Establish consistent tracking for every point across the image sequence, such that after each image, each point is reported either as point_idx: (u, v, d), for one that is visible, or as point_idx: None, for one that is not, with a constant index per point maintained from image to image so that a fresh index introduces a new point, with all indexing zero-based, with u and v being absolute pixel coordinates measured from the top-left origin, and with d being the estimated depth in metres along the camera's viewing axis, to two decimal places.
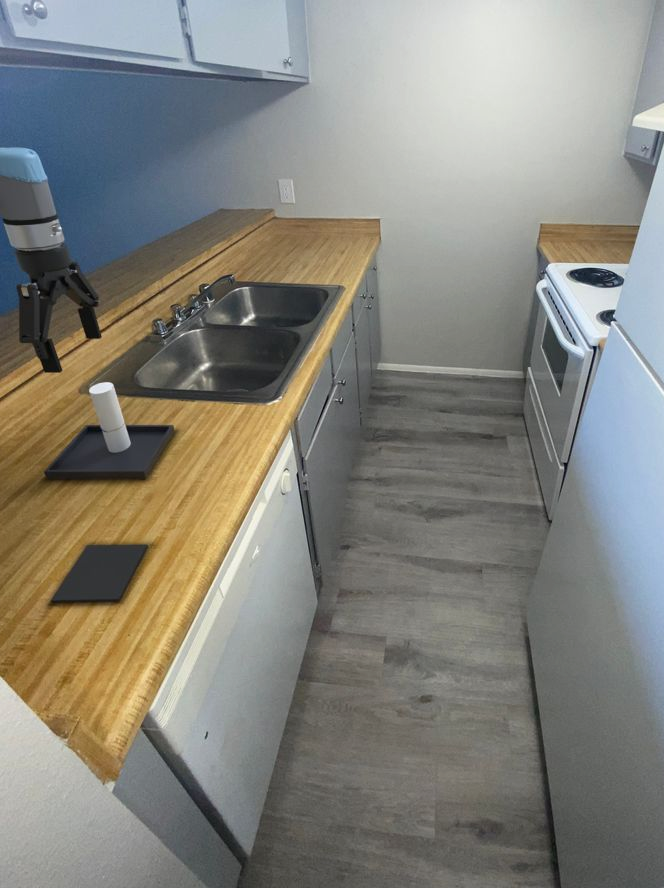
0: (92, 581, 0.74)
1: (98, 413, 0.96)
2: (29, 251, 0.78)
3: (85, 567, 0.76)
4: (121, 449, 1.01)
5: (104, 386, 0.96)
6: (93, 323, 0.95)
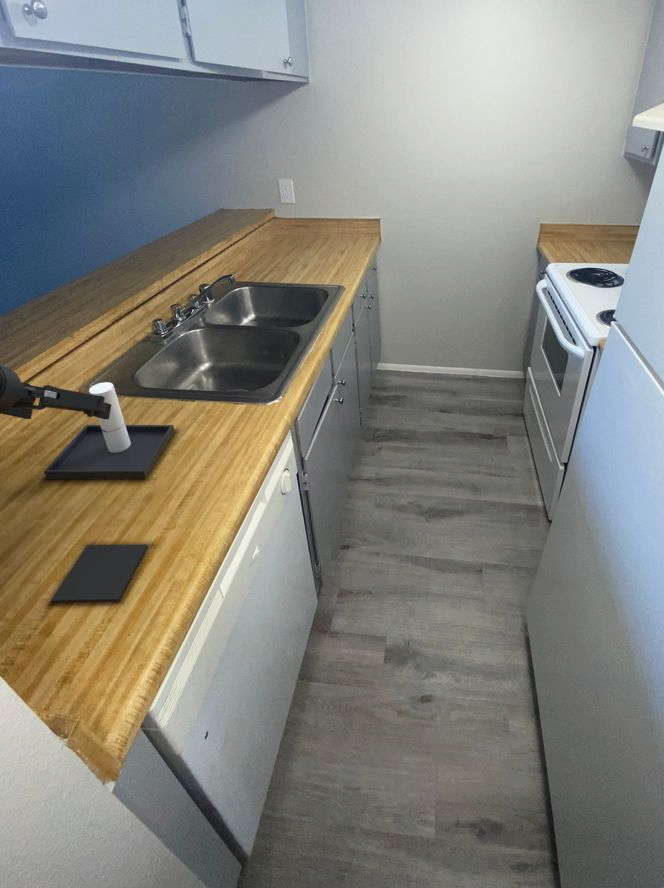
0: (92, 581, 0.74)
1: None
2: None
3: (85, 567, 0.76)
4: (121, 449, 1.01)
5: (104, 386, 0.96)
6: None
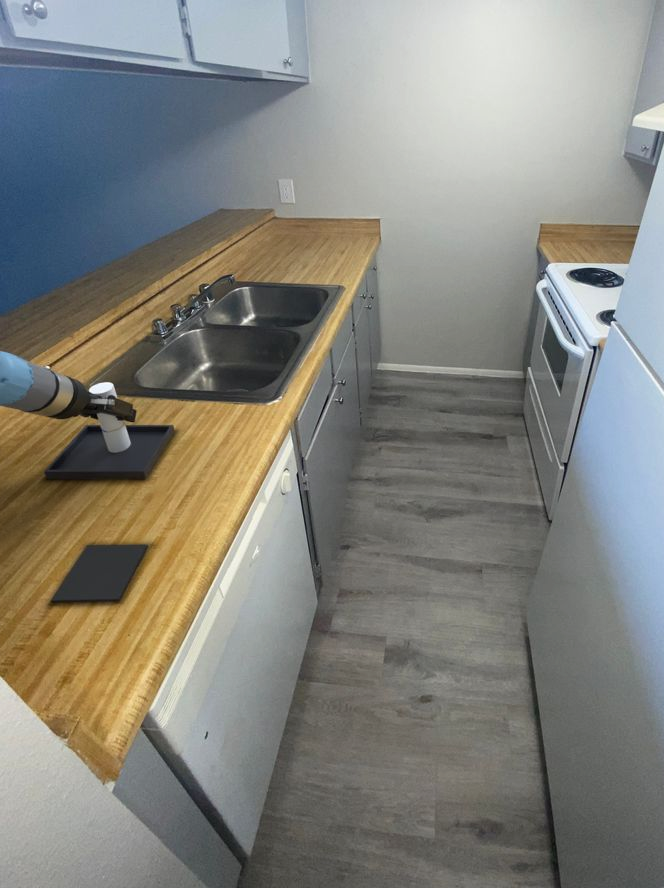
0: (92, 581, 0.74)
1: (98, 413, 0.96)
2: (72, 393, 0.82)
3: (85, 567, 0.76)
4: (121, 449, 1.01)
5: (104, 386, 0.96)
6: None
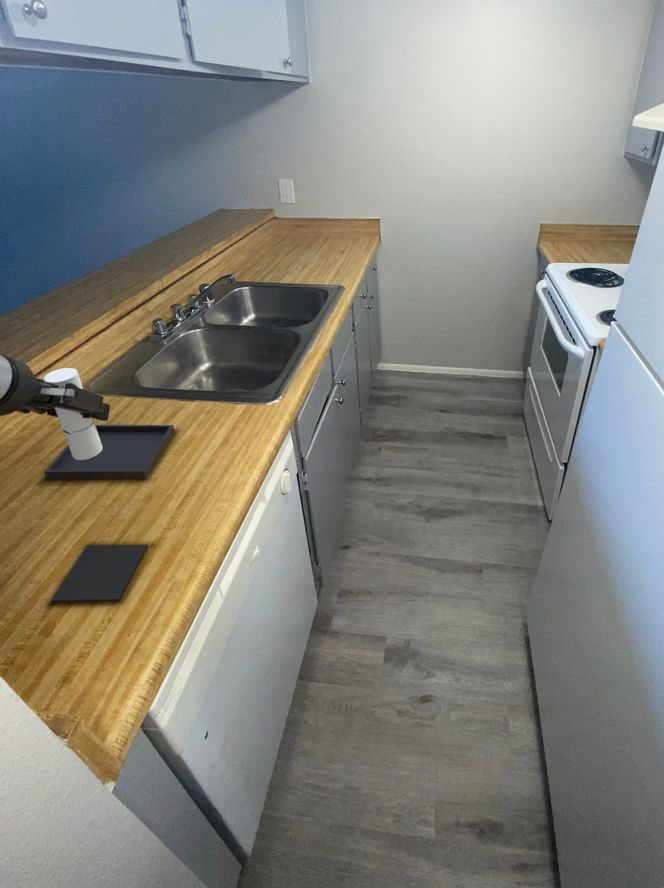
0: (92, 581, 0.74)
1: (57, 408, 0.73)
2: (11, 379, 0.58)
3: (85, 567, 0.76)
4: (89, 456, 0.78)
5: (65, 373, 0.73)
6: None
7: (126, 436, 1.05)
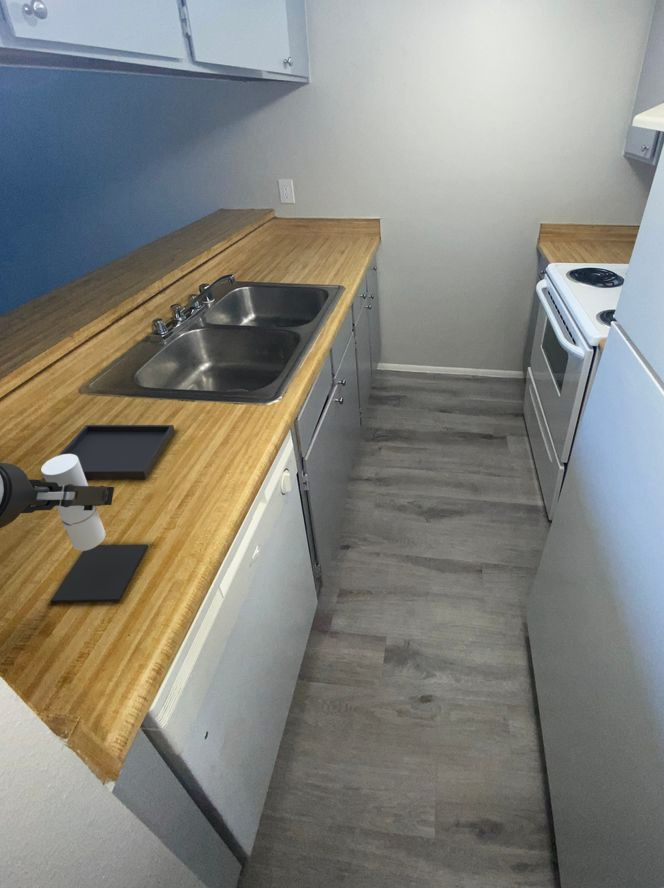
0: (92, 581, 0.74)
1: None
2: (3, 493, 0.51)
3: (85, 567, 0.76)
4: (91, 546, 0.71)
5: (64, 461, 0.66)
6: None
7: (126, 436, 1.05)
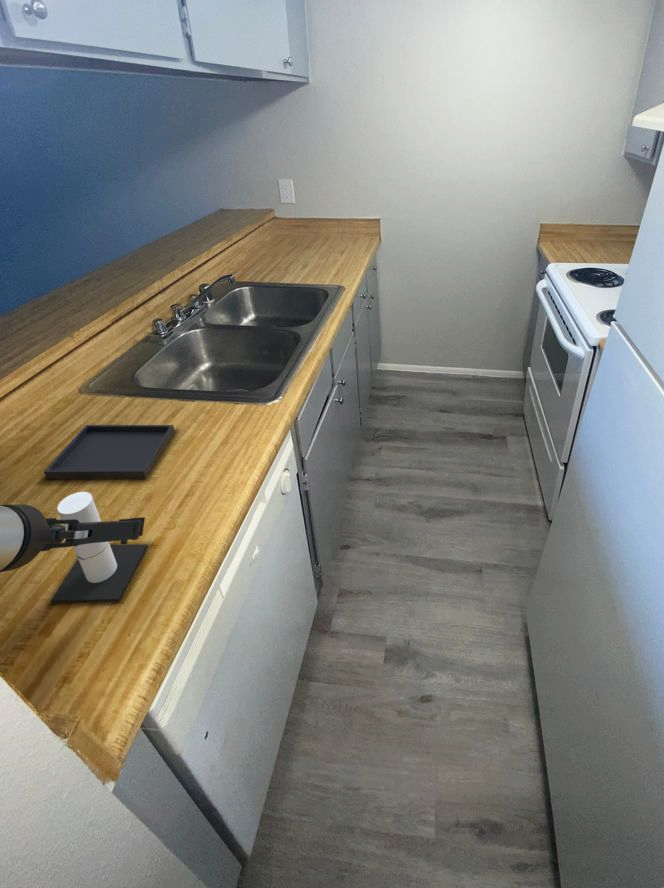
0: None
1: None
2: (23, 536, 0.54)
3: None
4: (104, 578, 0.74)
5: (79, 499, 0.69)
6: None
7: (126, 436, 1.05)
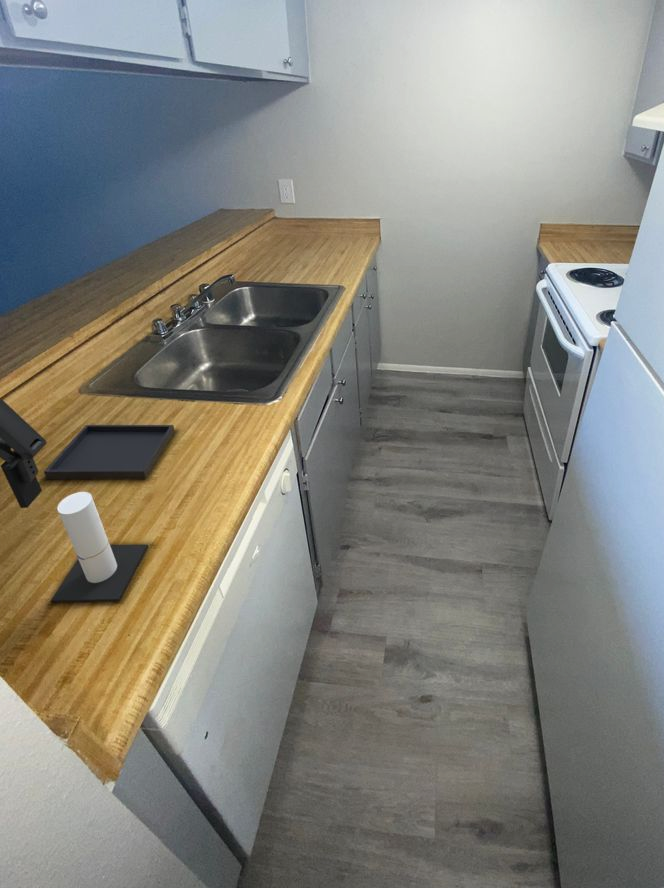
0: None
1: (71, 537, 0.69)
2: None
3: None
4: (104, 578, 0.74)
5: (79, 500, 0.69)
6: None
7: (126, 436, 1.05)
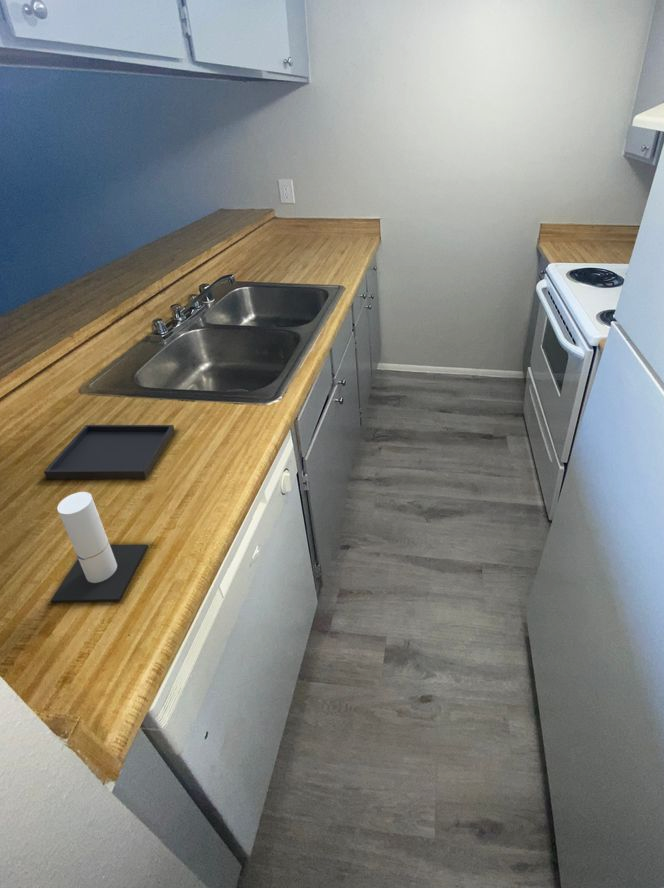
0: None
1: (71, 537, 0.69)
2: None
3: None
4: (104, 578, 0.74)
5: (79, 500, 0.69)
6: None
7: (126, 436, 1.05)
